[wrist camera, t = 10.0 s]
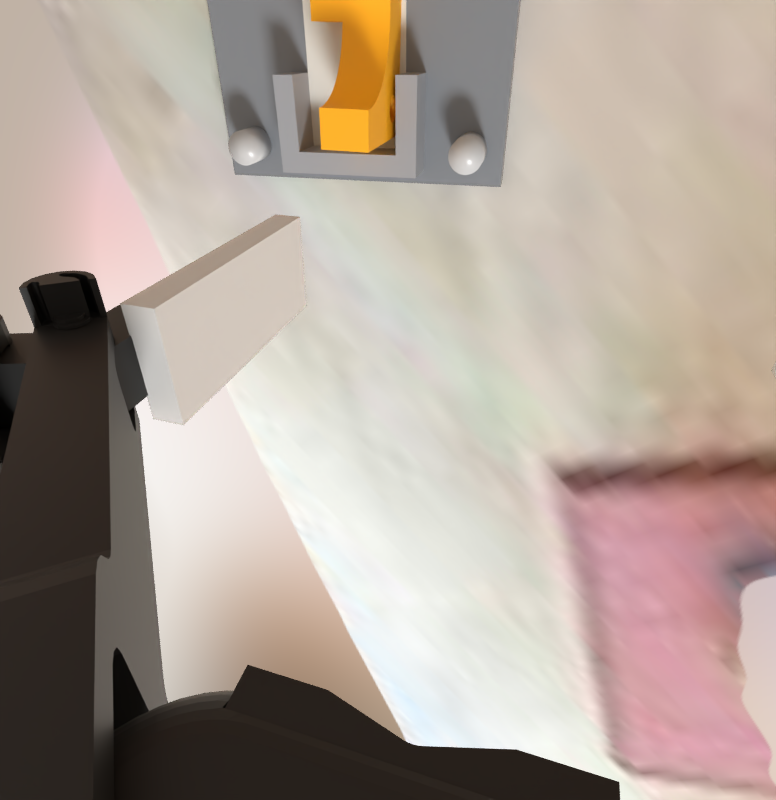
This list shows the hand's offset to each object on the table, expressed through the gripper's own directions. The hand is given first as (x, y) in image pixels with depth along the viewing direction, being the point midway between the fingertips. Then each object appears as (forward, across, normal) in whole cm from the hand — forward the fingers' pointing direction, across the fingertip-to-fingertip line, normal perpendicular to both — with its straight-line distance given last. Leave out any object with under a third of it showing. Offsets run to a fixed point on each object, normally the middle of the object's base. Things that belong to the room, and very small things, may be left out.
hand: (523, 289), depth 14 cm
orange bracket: (+21, +12, -7) cm, 25 cm away
